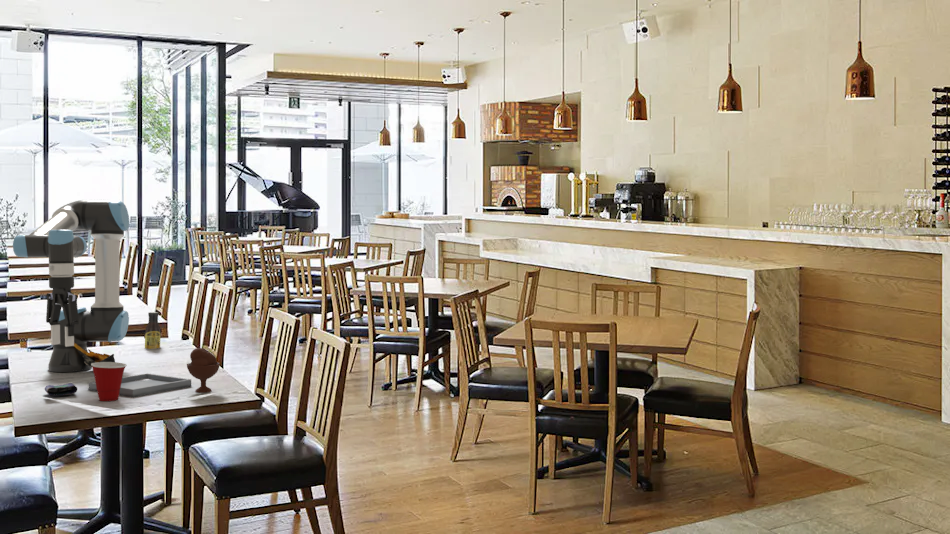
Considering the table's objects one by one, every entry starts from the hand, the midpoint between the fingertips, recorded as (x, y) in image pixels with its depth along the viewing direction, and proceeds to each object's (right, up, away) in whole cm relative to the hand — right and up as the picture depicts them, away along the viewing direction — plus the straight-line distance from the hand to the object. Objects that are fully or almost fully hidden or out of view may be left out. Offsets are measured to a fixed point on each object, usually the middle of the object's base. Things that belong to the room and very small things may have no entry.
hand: (62, 345), depth 293 cm
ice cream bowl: (+44, -17, +10) cm, 48 cm away
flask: (+1, -18, 0) cm, 18 cm away
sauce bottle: (-2, -14, +88) cm, 89 cm away
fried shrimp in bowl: (-2, -15, +42) cm, 45 cm away
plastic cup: (+18, -18, -5) cm, 26 cm away
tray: (+20, -16, +16) cm, 30 cm away
